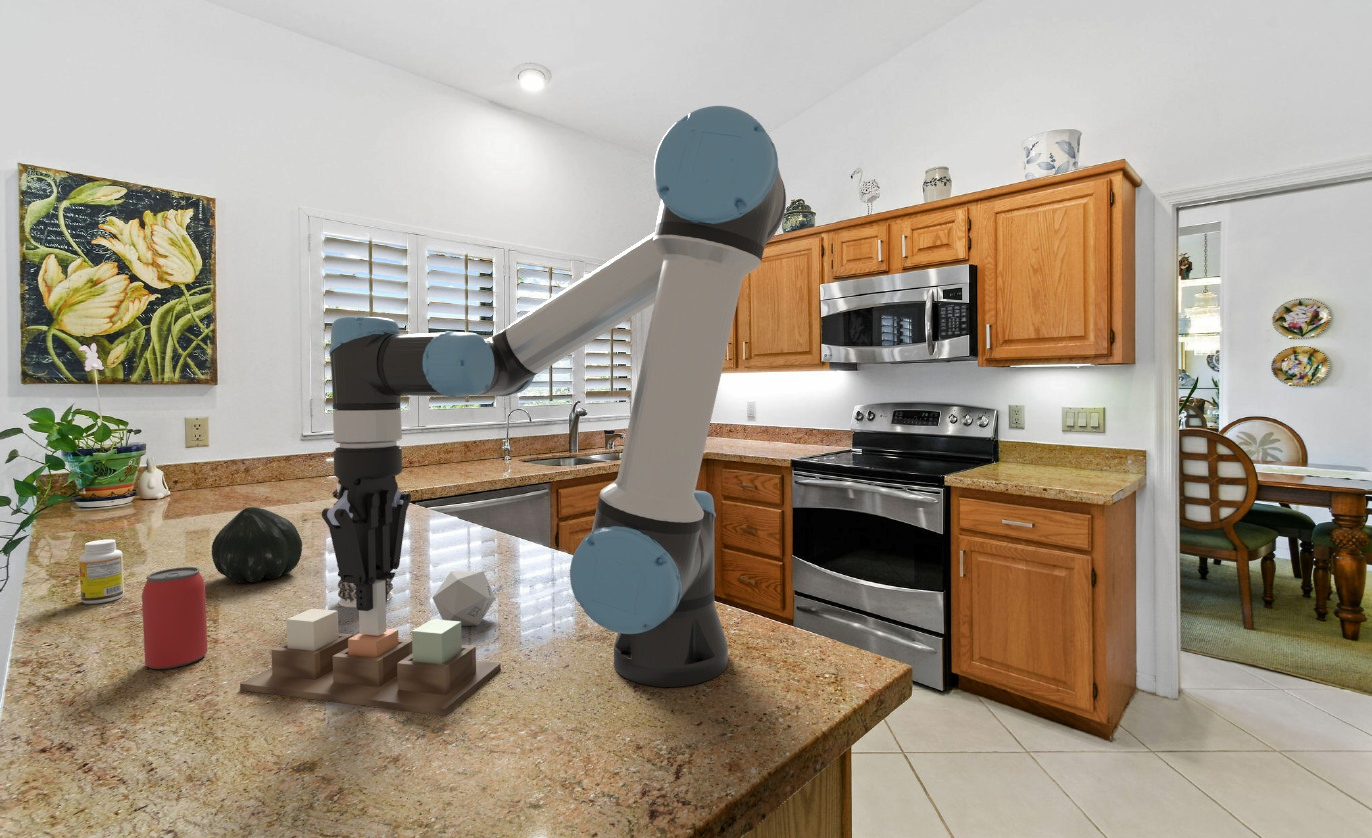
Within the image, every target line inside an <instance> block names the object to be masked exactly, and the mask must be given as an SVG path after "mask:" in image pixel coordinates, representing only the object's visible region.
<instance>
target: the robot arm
mask: <svg viewBox="0 0 1372 838" xmlns="http://www.w3.org/2000/svg"><path fill="white" fill-rule="evenodd" d="M777 152H778V151H777V149H776V145H775V144H774V142H773V140H772V138H771V137H770V135H769V134H768V133H767V130H766V129H765V128H764V127H763V125H762V124H761V123H760V122H759V121H758V120H757V119H756V118H755V117H754V116H752V115H751V114H749V113H748V112H746V111H744V110H741V109H739V108H736V107H732V106H729V105H728V106H727V105H712V106H711V105H710V106H705V107H701V108H699V109H696V110H693V111H691V112H689V113H688V114H687V115H685V116H683V117H682V118H681V119H680V120H677V121H676V122H675V123H674V124H672V126H670V128H669V129H668V130H667V132H666V133H665V134H664V136H663V137H662V139H661V141H660V142H659V144H658V147H657V150H656V153H655V158H654V161H653V163H654V164H653V177H654V184H655V189H656V192H657V194H658V197H659V198H660V205H659V210H658V212H657V218H656V224H655V229H654V232H653V233H651V234H650V235H648V236H646V237H645V238H644V239H642V240H640V241H639V242H637V243H636V244H634V245H633V246H630V248H628V249H626V250H625V251H623V252H622V253H620V254H619V255H617V256H615V257H614V258H612V259H610V260H608V261H607V262H606V263H604V264H603V265H602V266H600V267H597V268H596V269H595V270H594V271H592V272H591V273H588V274H587V275H585V276H584V277H583V278H581V279H579V280H578V281H576V282H575V283H573V284H572V285H569V287H567V288H565V289H564V290H562V291H560V292H558V294H556V295H555V296H553V297H551V298H550V299H548V300H546V301H545V302H543V303H542V304H540V305H539V306H537V307H536V308H534V309H533V310H531V311H529V312H527V313H526V314H525V315H523V316H521V317H520V318H518V319H517V320H514V322H511V324H509V325H508V326H507V327H505V328H503V329H502V330H500V331H499V332H497V333H495V334H493V335H492V336H490V337H489V338H486V339H485V338H484V337H483V336H482V335H480V334H477V333H474V332H463V331H459V332H458V331H454V330H451V331H448V330H447V331H445V332H432V333H431V332H430V333H412V334H411V333H408V334H407V333H400V327H399V325H398V323H397V321H395V320H394V319H390V318H385V317H377V316H376V317H375V316H342V317H339V318H337V319H335V320H334V321H333V322H332V325H331V328H330V330H331V331H330V349H329V351H328V354H329V357H330V358H329V359H330V370H331V371H330V372H331V389H332V390H331V394H332V417H333V418H332V420H333V421H332V422H333V426H332V427H333V430H332V431H333V442H335V443H336V444H339V446H337V447H335V449H334V450H333V474H334V476H335V477H336V478H339V479H340V481H341V487H340V490H339V493H338V499H339V501H338V499H337V501H338V502H337V501H336V502H337V503H336V502H335V503H336V504H335V503H334V504H335V505H334V504H333V506H332V507H331V508H329V507H326V508H323V509H322V511H321V517H322V519H323V520H324V522H325V523H326V526H327V527H328V529H329V533H330V537H331V542H332V546H333V551H334V555H335V558H336V559H335V560H336V564H337V565H338V567H337V568H338V572H339V573H340V577H339V578H340V579H341V581H342V582H344V583H353V584H355V586H356V610H357V611H358V624H359V625H358V628H359V630H358V631H359V633H358V634H365V635H375V636H379V635H381V634H383V633H384V632H386V629H387V602H388V601H387V579H393V580H394V578H395V576H396V572H393V570H398V568H399V567H400V564H401V563H400V562H401V556H402V549H403V548H402V547H403V540H404V534H405V533H404V532H405V527H406V525H405V524H406V518H407V511H408V508H409V505H410V503H411V500H412V494H411V493H410V492H402V491H400V490H399V484H398V481H397V480H396V476H398V475H401V473H402V472H403V453H402V452H403V451H402V449H403V448H402V447H401V446H400V445H399V444H397V442H399V441H400V440H402V439H403V433H402V430H403V429H402V409H401V403H402V401H401V397H409V396H410V397H411V396H413V397H415V396H416V397H447V398H457V397H458V398H464V397H465V398H466V397H468V396H471V397H472V396H475V397H476V396H495V397H509V396H512V395H515V394H520V393H522V392H523V391H526V389H528V388H529V387H530V385H531V384H532V382H533V381H534V379H535V376H536V375H538V374H539V373H541V372H543V371H545V370H546V369H548V368H550V367H551V366H553V365H554V364H556V363H558V362H559V361H562V359H564V358H566V357H567V356H569V355H571V354H572V353H574V352H576V351H577V350H579V349H581V348H582V347H584V346H586V345H588V344H590V343H591V342H593V341H594V340H596V339H597V338H599V337H601V336H603V335H604V334H606V333H608V332H609V331H610V330H612V329H614V328H616V327H618V326H619V325H620V324H622V323H624V322H625V321H627V320H629V319H630V318H632V317H634V316H635V315H637V314H640V313H641V312H642V311H644V310H645V309H647V308H649V307H650V306H651V305H652V306H653V308H652V313H651V319H650V323H649V328H648V332H647V337H646V340H645V341H646V342H645V346H644V352H643V356H642V361H641V365H640V369H639V375H638V379H637V383H636V389H635V393H634V398H633V403H632V407H631V412H630V417H629V421H628V427H627V430H626V435H625V436H626V437H625V441H624V445H623V449H622V455H621V458H620V464H619V469H618V472H617V473H618V474H617V478H616V479H615V480H614V481H612V482H611V483H610V484H608V485H606V486H605V487H603V488H602V489H600V493H599V496H598V501H597V505H596V510H595V514H594V519H593V525H592V528H591V532H590V533H588V534H587V535H585V536H584V537H583V539H582V540H581V542H580V544H579V545H578V546H577V548H576V550H575V551H574V553H573V556H572V559H571V562H570V568H569V579H570V587H571V591H572V593H573V596H574V598H575V600H576V601H577V603H579V604H580V607H581V608H582V610H583V611H584V613H585V614H586V616H588V617H589V618H590V619H591V620H592V621H593V622H594V623H596V624H597V625H599V626H600V627H602V628H604V629H606V630H608V631H611V632H614V633H617V635H616V638H615V642H614V645H613V666H614V669H615V670H616V672H617V673H618V674H619V675H620V676H622V677H624V678H625V679H627V680H629V681H632V682H634V683H637V684H641V685H646V686H652V687H660V688H661V687H666V688H668V687H669V688H674V687H685V686H692V685H698V684H701V683H704V682H707V681H710V680H713V679H714V678H717V677H718V676H720V674H722V673H723V672H725V670H726V669H727V667H728V665H729V664H728V663H729V647H728V646H729V645H728V642H727V638H726V635H725V632H724V629H723V626H722V623H721V620H720V616H719V613H718V611H717V607H716V603H715V520H716V517H717V516H716V514H717V513H716V512H715V502H714V498H713V495H712V494H711V493H710V492H707V491H705V490H696V488H697V484H698V478H699V474H700V471H701V465H702V462H703V457H704V456H703V455H704V453H705V448H706V444H707V440H708V439H707V438H708V434H709V430H710V425H711V420H712V416H713V412H714V407H715V404H716V403H715V402H716V399H717V395H718V390H719V385H720V381H721V378H722V377H721V376H722V374H723V373H722V372H723V368H724V363H725V359H726V354H727V352H728V345H729V341H730V338H731V331H732V327H733V325H734V320H735V314H736V310H737V305H738V302H739V298H740V293H741V287H742V283H743V279H744V278H745V277H746V276H748V275H749V274H750V273H752V272H753V271H755V270H756V269H758V268H760V267H761V264H762V260H763V256H764V251H765V249H766V248H765V246H766V244H768V243H769V242H770V241H771V240H772V239H773V238H774V236H775V234H776V233H777V231H778V230H779V228H780V227H781V225H782V222H783V219H784V217H785V213H786V206H787V194H786V187H785V184H784V181H783V178H782V175H781V172H780V167H779V158H778V153H777ZM390 558H391V559H390ZM337 565H336V566H337Z"/></svg>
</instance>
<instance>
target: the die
mask: <svg viewBox="0 0 1372 838" xmlns="http://www.w3.org/2000/svg"><path fill="white" fill-rule="evenodd" d="M432 600H433V602H434V604H435V607H436V610H437V611H438V613H439V614H440V617H441V620H449V621H460V622H461V627H463V626H465V627H468V626H469V627H472V626H473V627H474V626H475V627H476V626H477V627H478V626H480V625H481V623H482V621H483V619H484V618H485V616H486V615H487V613H488V612H489V609H491V607H492V605H493V604H494V601H495V600H496V597H495V595H494V592H493V590H492V587H491V584H490V583H489V581H488V578H487V576H486V574H485V572H484V570H471V571H470V570H469V571H468V570H466V571H465V570H464V571H463V570H462V571H459V570H458V571H456V570H455V571H454V570H452V571H450V572H449V574H448V575H447V576H446V578H445V579H444V581H443V582H442V584H441V585H440V586H439V588H438V589H437V590H436V591H435V593H434V594H433V596H432Z"/></svg>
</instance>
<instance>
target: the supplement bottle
mask: <svg viewBox="0 0 1372 838" xmlns="http://www.w3.org/2000/svg"><path fill="white" fill-rule="evenodd" d="M116 542H117V541H116V539H109V538H108V539H100V540H99V539H98V540H93V541H89V542H86V543H84V552H85V553H83V554H82V555H81V556H80V557H79V558H78V561H79V562H78V564H79V565H78V566H79V579H80V580H79V582H80V584H79V585H80V599H81V602H82V603H83V604H87V605H98V604H104V603H109V602H113V601H116V600H119V599H121V598H122V597H124V595H125V577H124V561H123V560H124V559H123V558H124V557H123V556H124V554H123V552H122V551H121V550H119V549H117V543H116Z"/></svg>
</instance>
